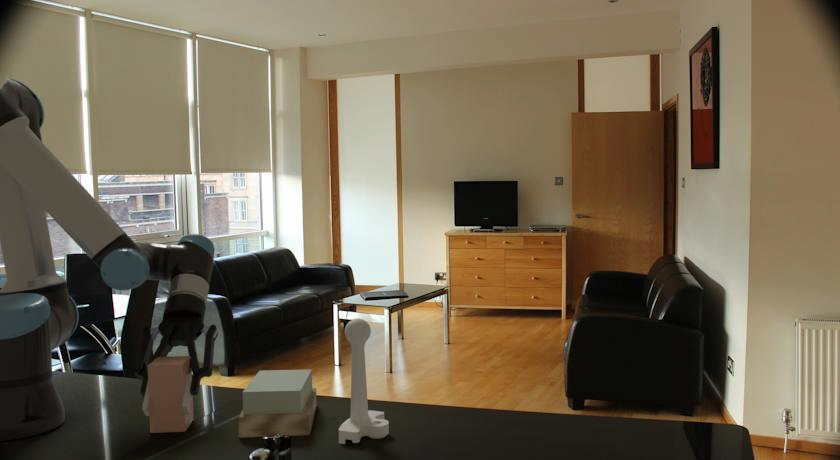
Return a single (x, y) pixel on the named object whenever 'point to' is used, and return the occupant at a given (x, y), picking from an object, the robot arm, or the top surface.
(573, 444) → the top surface
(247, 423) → the tower base
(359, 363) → the joystick
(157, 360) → the terracotta column
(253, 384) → the tower top
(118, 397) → the top surface
